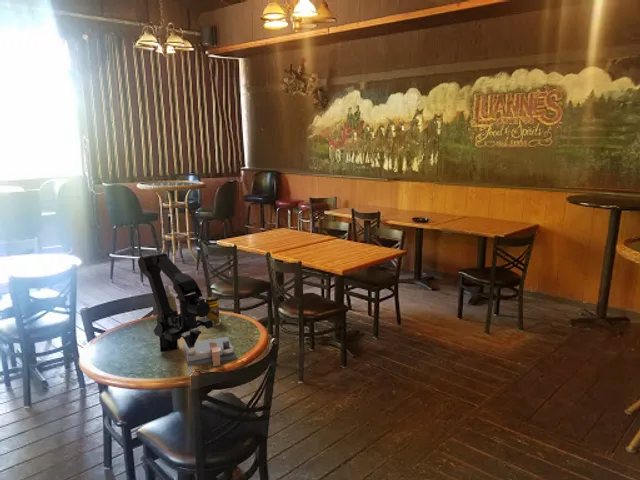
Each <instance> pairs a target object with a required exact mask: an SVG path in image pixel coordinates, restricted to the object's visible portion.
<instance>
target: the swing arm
mask: <svg viewBox="0 0 640 480" xmlns="http://www.w3.org/2000/svg"><path fill="white" fill-rule="evenodd" d="M229 341H230V340H229ZM229 341H224V342H223V346H222V347H221V348H218V349H219V352H220V355H230V354H232V353H234V352H235V349H234V348H235V347H234V346H233V345H232V346H230V345H229ZM188 350H189V354H188V360H189V362H190V361H195V360H200V359H205V358H210V357H212V351H211V350H207V351H202V352H196V348H195V346H189V347H188Z"/></svg>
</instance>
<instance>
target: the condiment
mask: <svg viewBox="0 0 640 480" xmlns="http://www.w3.org/2000/svg"><path fill="white" fill-rule="evenodd" d="M205 302H207V303H208V304H209V306H210V311H209V313H208V315H207V316H205V318H208V319H210V320H212V321H213V326H219V325H221V321H222V320H221V317H220V307H219V306H220V305H219V302H218V297H217V296H208V297H206V298H205ZM214 324H216V325H214Z"/></svg>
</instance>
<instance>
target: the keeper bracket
mask: <svg viewBox="0 0 640 480" xmlns="http://www.w3.org/2000/svg"><path fill="white" fill-rule="evenodd" d="M209 344H210V348H211V351H212V358H213V362H212V365H213V367H215V366H221V361H220V352H219V349H218V346H217V343H216V342H212V343H209Z"/></svg>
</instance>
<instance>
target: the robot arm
mask: <svg viewBox="0 0 640 480" xmlns="http://www.w3.org/2000/svg"><path fill="white" fill-rule="evenodd" d="M137 264H138V267H139V269H140V272H141V273H142V274H143V275H144V276H145V277H146V278H147V279H148V282H149V285H150V289H151V292H152V295H153V298H154V302H155V306H156V309H157V312H158V314H157V316H156V325H155V327H154V329H153V333H154V335H155V336H157V337H159V350H160V352H165V351H173V350H177V349H178V345H179V342H178V340H181V338H182V339H183V340H184V343H186V344H187V346H188V347H189V346H194V345H195V343H196V341H198V338H199V337H200V335H201V334H202V331H201V330H200V328H202V327H204V328H206V329H207V330H208V329H212V328H214V325H213V321H212V320H210V319H208V318H206V316H207V315H208V313H209V311H210V306H209V304H208V303H207V302H206V298H204V297H203V293H202V290H201V289H200V286H199V285H198V283H197V282H196V280H195V279H194V278H193V277H192V276H190V275H189V274H185V273H183V272H182V271H181V270H180V268H178V266H176V264H174V262H173V261H172V260H171V258H169V255H168V254H167V253H166V252H161V253H152V254H145V255H142V256H140V257H139V259H138V261H137ZM161 272H163V273H164V274H165V276H166V277H167V278H168V279H169V280H170V282H171V283H172V288H173V290H174V292H175V293H176V294H177V296H175V300H176V299H177V300H178V302H179V312H177V311H178V310H177V311H174V310H173V309H171V307H170V304H169V301H168V298H167V294H166V291H165V285H164V282H163V279H162V276H161ZM197 317H199V319H197Z"/></svg>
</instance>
